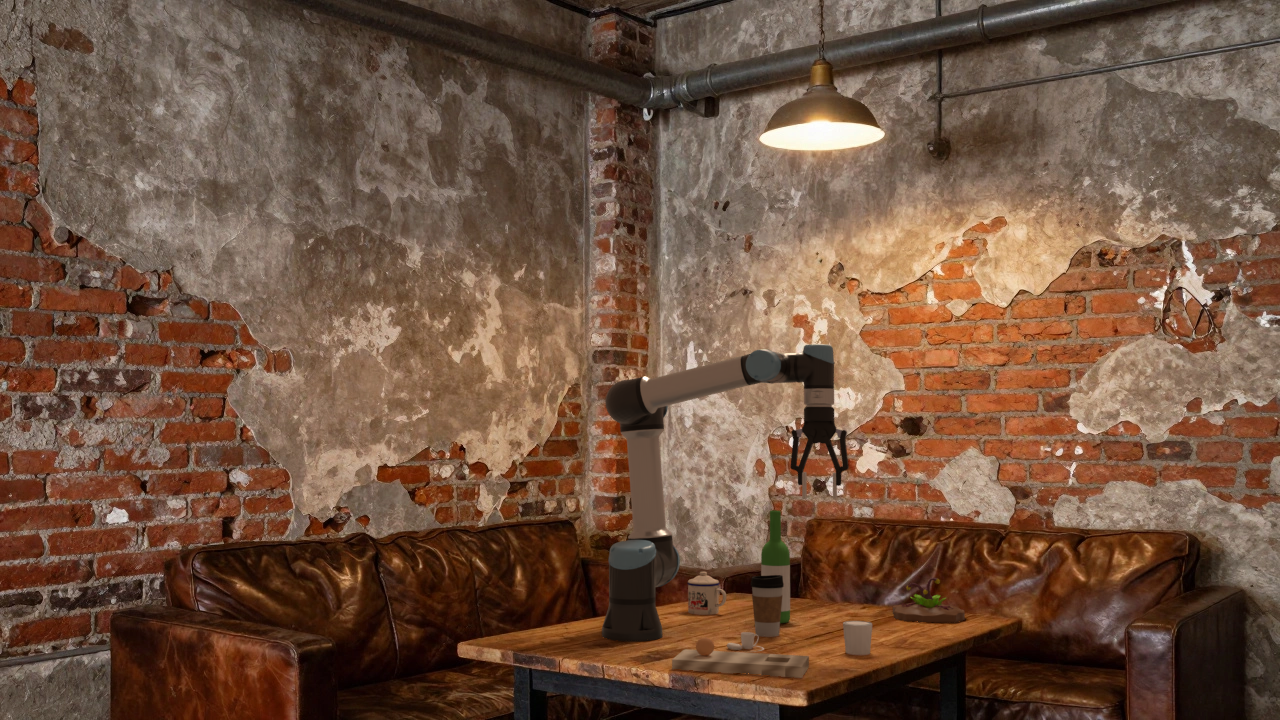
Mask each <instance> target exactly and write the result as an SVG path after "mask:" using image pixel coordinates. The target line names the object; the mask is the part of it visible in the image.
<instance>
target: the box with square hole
mask: <svg viewBox="0 0 1280 720" xmlns="http://www.w3.org/2000/svg"><path fill="white" fill-rule="evenodd" d="M809 667H810V656H809V655H800V654H799V655H798V654H797V655H795V654H781V653H780V654H778V653H776V654H775V653H763V652H762V653H761V652H759V653H758V652H745V651H744V652H743V651H742V652H740V651H725V650H724V651H723V650H722V651H721V650H720V651H719V650H713V652H712V653H711V654H710V655H708V656H703V655H700V654H699V653H698V652H697V650H696V649H687V648H685V649H683V650H682V651H681V652H679V653H678V654H677V655H676V656H675V657H673V658H672V659H671V670H674V669H681V670H680V671H689V670H693V671H694V672H704V671H705V672H706V673H718V672H721V674H722V673H723V674H733V673H741V674H740V675H743V674H742V673H746V674H745V675H748V673H749V674H761V675H760V676H763V675H770V676H769V677H778V676H781V677H782V678H793V677H794V678H795V679H803V677H804V676H803V675H805V674H806V672H807V670H808V669H809ZM693 671H692V672H693ZM705 672H704V673H705ZM781 677H780V678H781Z"/></svg>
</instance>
